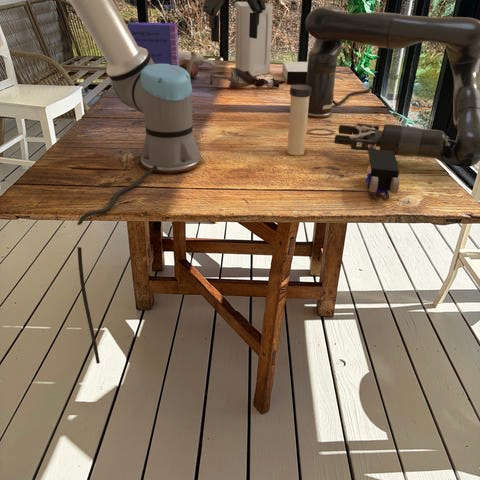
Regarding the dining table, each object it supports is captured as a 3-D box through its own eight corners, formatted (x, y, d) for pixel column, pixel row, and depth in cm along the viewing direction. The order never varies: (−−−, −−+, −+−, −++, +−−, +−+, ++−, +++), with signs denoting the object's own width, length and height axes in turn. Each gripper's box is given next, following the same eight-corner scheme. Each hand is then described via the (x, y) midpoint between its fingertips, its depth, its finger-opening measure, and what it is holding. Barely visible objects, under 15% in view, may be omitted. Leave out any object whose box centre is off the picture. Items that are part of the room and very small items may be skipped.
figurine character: (397, 209, 105) (389, 175, 117) (404, 179, 101) (395, 147, 112) (366, 207, 106) (361, 173, 118) (371, 177, 101) (366, 145, 113)
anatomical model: (190, 85, 210) (181, 86, 196) (175, 71, 209) (165, 71, 195) (208, 63, 206) (200, 61, 191) (193, 48, 205) (184, 46, 191)
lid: (315, 95, 122) (315, 88, 121) (297, 97, 120) (297, 90, 119) (303, 90, 126) (303, 83, 125) (285, 92, 124) (286, 85, 123)
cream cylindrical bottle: (307, 153, 130) (313, 90, 121) (293, 156, 128) (298, 92, 119) (298, 148, 134) (303, 86, 125) (283, 150, 132) (288, 87, 123)
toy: (170, 75, 210) (169, 59, 206) (146, 65, 227) (145, 49, 223) (217, 69, 221) (217, 53, 218) (191, 60, 239) (191, 45, 235)
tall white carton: (273, 76, 210) (276, 6, 196) (239, 77, 209) (240, 6, 194) (266, 67, 226) (268, 2, 212) (235, 67, 225) (235, 1, 210)
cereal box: (180, 88, 189) (177, 22, 177) (178, 91, 185) (174, 24, 173) (137, 87, 190) (130, 21, 178) (134, 90, 186) (127, 23, 173)
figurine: (210, 87, 179) (288, 95, 182) (212, 65, 176) (291, 73, 180) (208, 84, 201) (278, 91, 205) (210, 64, 198) (280, 71, 202)
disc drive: (287, 84, 198) (287, 71, 196) (281, 72, 218) (282, 61, 215) (329, 84, 199) (330, 72, 196) (320, 72, 218) (321, 61, 216)
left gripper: (262, -48, 133) (259, 35, 143) (187, -51, 119) (190, 41, 130) (281, -47, 128) (276, 38, 138) (205, -51, 114) (206, 44, 125)
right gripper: (403, 118, 125) (341, 112, 129) (403, 135, 113) (335, 128, 117) (398, 145, 129) (338, 139, 133) (397, 164, 117) (331, 156, 121)
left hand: (234, 39), depth 134 cm, fingers open, 13 cm apart
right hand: (336, 133), depth 125 cm, fingers open, 8 cm apart
